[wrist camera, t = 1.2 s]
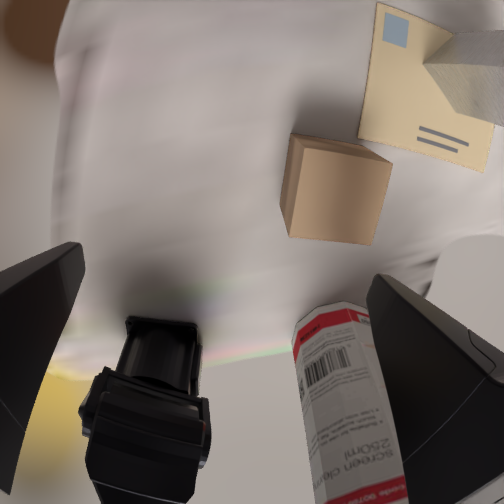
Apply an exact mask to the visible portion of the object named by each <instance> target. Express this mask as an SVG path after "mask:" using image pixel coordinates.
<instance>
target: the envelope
mask: <svg viewBox="0 0 504 504" xmlns="http://www.w3.org/2000/svg"><path fill="white" fill-rule="evenodd" d="M453 35H454V34H452V33H450V32H448V31H446V30H444V29H442V28H440V27H438V26H436V25H434V24H432V23H429V22H427V21H425V20H422V19H420V18H418V17H415V16H413V15H410V14H408V13H405V12H403V11H400V10H398V9H395V8H392V7H389V6H387V5H384V4H381V3H377V5H376V16H375V25H374V34H373V42H372V50H371V57H370V65H369V72H368V78H367V85H366V91H365V97H364V103H363V109H362V115H361V120H360V126H359V131H358V136H357V138H360V139H365V140H370V141H374V142H378V143H383V144H387V145H391V146H395V147H399V148H403V149H407V150H410V151H414V152H418V153H421V154H425V155H428V156H432V157H435V158H439V159H442V160H445V161H448V162H452V163H455V164H458V165H461V166H464V167H467V168H470V169H473V170H476V171H479V172H481V173H483V172H484V169H485V165H486V161H487V157H488V153H489V149H490V144H491V140H492V135H493V130H494V125H495V124H493V123H490V122H487V121H483V120H480V119H477V118H473V117H470V116H466V115H462V114H458V113H455V111H454V110H453V108H452V106H451V105H450V103H449V102H448V100H447V99H446V97H445V95H444V94H443V92H442V91H441V90H440V88H439V87H438V85H437V84H436V82H435V81H434V79H433V78H432V77H431V75H430V74H429V72H428V71H427V70H426V68H425V67H424V66H423V63H424V62H425V61H426V60H427V59H428V58H429V57H430V56H431V55H432V54H434V53H435V52H436V51H437V50H438V49H439V48H440V47H441V46H442V45H443V44H444V43H445V42H447V41H448V40H449V39H450V38H451V37H452V36H453Z"/></svg>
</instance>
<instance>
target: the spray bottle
mask: <svg viewBox="0 0 504 504" xmlns="http://www.w3.org/2000/svg"><path fill="white" fill-rule="evenodd" d="M292 349H293V355H294V361H295V367H296V373H297V380H298V386H299V392H300V399H301V405H302V412H303V418H304V425H305V432H306V439H307V446H308V452H309V460H310V467H311V474H312V481H313V489H314V496H315V503H316V504H409V502H408V495H407V489H406V483H405V477H404V471H403V465H402V464H403V463H402V459H401V454H400V449H399V444H398V439H397V434H396V429H395V425H394V420H393V416H392V412H391V407H390V403H389V399H388V395H387V391H386V387H385V383H384V379H383V375H382V371H381V367H380V364H379V360H378V356H377V353H376V349H375V345H374V341H373V336H372V331H371V325H370V319H369V314H368V312H367V310H366V308H364V307H361V306H358V305H355V304H352V303H349V302H346V301H342V302H338V303H334V304H329V305H325V306H320V307H316V308H315V309H314V310H313V311H312V312H310V313H309V314H308V315H307V316H306V317H304V318H303V319H302V320H301V321H299V322H298V323H297V324H296V327H295V331H294V336H293V340H292Z"/></svg>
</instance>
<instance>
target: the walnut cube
mask: <svg viewBox="0 0 504 504" xmlns="http://www.w3.org/2000/svg"><path fill="white" fill-rule="evenodd" d="M392 166H393V164H392V163H390V162H389V161H387V160H386V159H384V158H382V157H381V156H379V155H377V154H376V153H374V152H372V151H371V150H369V149H367V148H365V147H364V146H361V145H356V144H351V143H346V142H341V141H335V140H330V139H324V138H318V137H312V136H306V135H299V134H292V133H290V140H289V147H288V153H287V160H286V166H285V173H284V179H283V186H282V192H281V199H280V208H281V211H282V215H283V218H284V221H285V225H286V228H287V232H288V235H289V237H294V238H304V239H314V240H324V241H334V242H344V243H353V244H363V245H371V244H372V240H373V237H374V234H375V230H376V227H377V223H378V220H379V216H380V213H381V209H382V206H383V202H384V198H385V194H386V190H387V187H388V183H389V179H390V175H391V170H392Z"/></svg>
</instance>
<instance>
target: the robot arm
mask: <svg viewBox="0 0 504 504" xmlns="http://www.w3.org/2000/svg"><path fill="white" fill-rule="evenodd" d="M84 274H85V261H84V255H83V248H82V245H81V244H80V243H78V242H67V243H64V244H62V245H59V246H57V247H55V248H52V249H50V250H48V251H45V252H43V253H41V254H38V255H36V256H34V257H31V258H29V259H27V260H25V261H23V262H20V263H18V264H16V265H14V266H12V267H9V268H7V269H5V270H3V271H1V272H0V491H2V492H4V493H5V494H7V495H10V492H11V488H12V484H13V479H14V475H15V470H16V466H17V462H18V458H19V454H20V450H21V447H22V443H23V439H24V436H25V431H26V428H27V425H28V422H29V419H30V415H31V412H32V409H33V406H34V403H35V400H36V397H37V394H38V392H39V389H40V386H41V383H42V381H43V378H44V375H45V372H46V370H47V367H48V365H49V362H50V360H51V357H52V355H53V352H54V350H55V347H56V345H57V343H58V340H59V338H60V336H61V333H62V331H63V329H64V327H65V324H66V322H67V320H68V318H69V315H70V313H71V310H72V308H73V305H74V302H75V299H76V296H77V293H78V290H79V288H80V285H81V282H82V279H83V277H84ZM366 303H367V309H368V314H369V319H370V325H371V331H372V336H373V341H374V345H375V349H376V353H377V356H378V360H379V364H380V367H381V371H382V375H383V379H384V383H385V387H386V391H387V395H388V399H389V403H390V407H391V412H392V416H393V420H394V425H395V429H396V434H397V439H398V444H399V449H400V454H401V459H402V463H403V464H402V465H403V471H404V477H405V483H406V489H407V495H408V502H409V504H504V353H503V352H502V351H500V350H499V349H497V348H496V347H494V346H493V345H491V344H490V343H488V342H487V341H485V340H484V339H482V338H481V337H480V336H478V335H476V334H475V333H474V332H472V331H471V330H470V329H467V327H465V326H464V325H462V324H461V323H460V322H458V321H457V320H455V319H454V318H452V317H451V316H450V315H448V314H447V313H445V312H444V311H442V310H441V309H439V308H438V307H436V306H435V305H433V304H432V303H430V302H429V301H427V300H426V299H424V298H423V297H421V296H420V295H418V294H417V293H415V292H414V291H412V290H411V289H409V288H408V287H406V286H405V285H403V284H402V283H400V282H399V281H397V280H396V279H394V278H393V277H391V276H389V275H386V274H377V275H375V277H374V279H373V281H372V284H371V286H370V289H369V291H368V294H367V298H366ZM130 321H131V322H130ZM125 324H126V329H127V335H128V336H127V339H126V342H125V344H124V347H123V350H122V353H121V356H120V358H119V361H118V364H117V367H116V370H115V371H113V370H111V368H108V367H106V366H104V369H103V371H102V373H99V375H97V376H95V378H94V380H93V383H92V386H91V388H90V391H89V393H88V394H87V396H86V397H85V399H84V400H83V402H82V403H81V405H80V407H79V411H78V414H79V416H80V417H81V419H82V426H83V428H82V435H83V436H85V437H88V438H89V442H88V447H87V451H86V456H85V463H86V467H87V471H88V474H89V477H90V479H91V480H92V482H93V484H94V487H95V489H96V492H97V494H98V497H99V499H100V501H101V504H186V503H187V502H188V501H189V499H190V498H191V497H192V496H193V494H194V491H195V483H196V476H197V472H198V469H201V468H203V466H204V465H205V463H206V461H207V458H208V454H209V451H210V446H211V423H210V412H209V401H208V399H207V398H203V397H201V398H200V397H197V396H198V395H199V387H200V377H201V368H202V345H201V344H198V327H197V325H195V324H192V323H183V322H174V321H165V320H156V319H148V318H140V317H133V316H129V317H127V319H126V321H125ZM191 329H194V330H191Z"/></svg>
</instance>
